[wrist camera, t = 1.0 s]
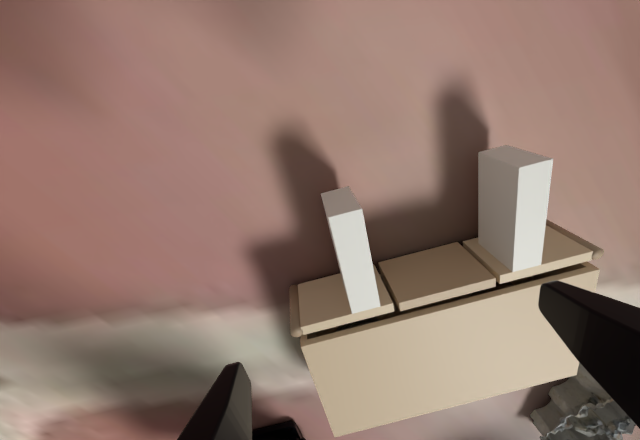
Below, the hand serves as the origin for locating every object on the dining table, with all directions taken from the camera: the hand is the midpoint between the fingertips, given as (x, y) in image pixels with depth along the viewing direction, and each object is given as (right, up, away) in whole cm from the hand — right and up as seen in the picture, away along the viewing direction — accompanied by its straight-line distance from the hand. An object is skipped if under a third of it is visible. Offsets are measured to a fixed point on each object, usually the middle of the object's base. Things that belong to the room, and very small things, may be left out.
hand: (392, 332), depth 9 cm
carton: (+6, -4, +14) cm, 15 cm away
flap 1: (-2, +2, +10) cm, 10 cm away
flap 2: (+9, +5, +10) cm, 15 cm away
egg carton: (+23, -13, +21) cm, 34 cm away
